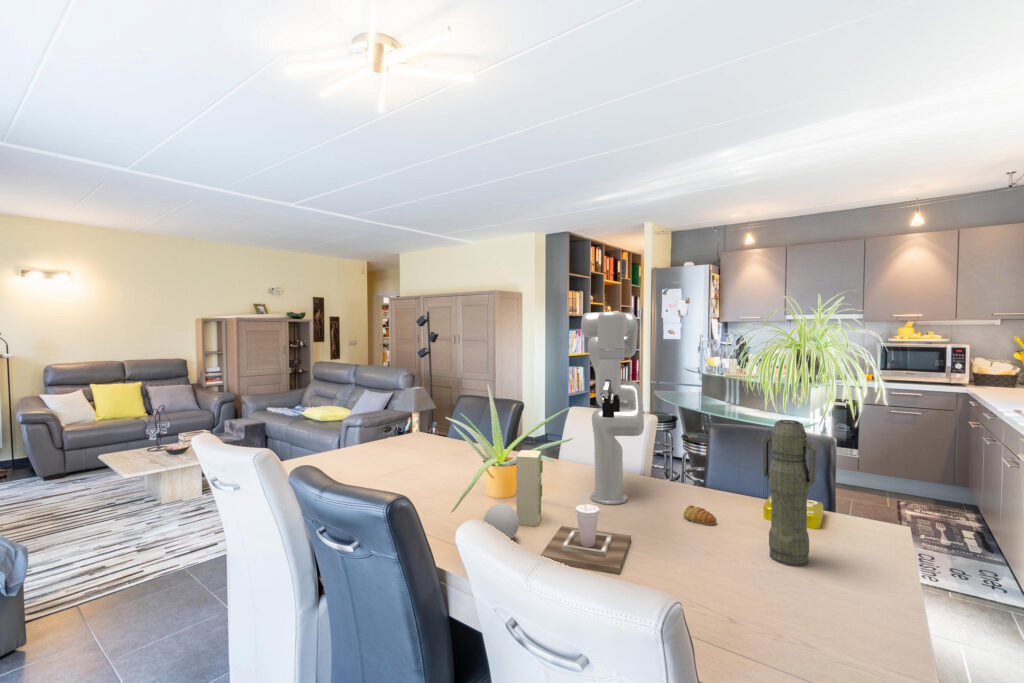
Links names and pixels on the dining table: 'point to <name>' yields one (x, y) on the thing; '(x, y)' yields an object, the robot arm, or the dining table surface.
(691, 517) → the pastry
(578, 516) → the smoothie
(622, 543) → the walnut board
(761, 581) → the dining table surface
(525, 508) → the toy refrigerator
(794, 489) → the thermos
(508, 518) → the ball
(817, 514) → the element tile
